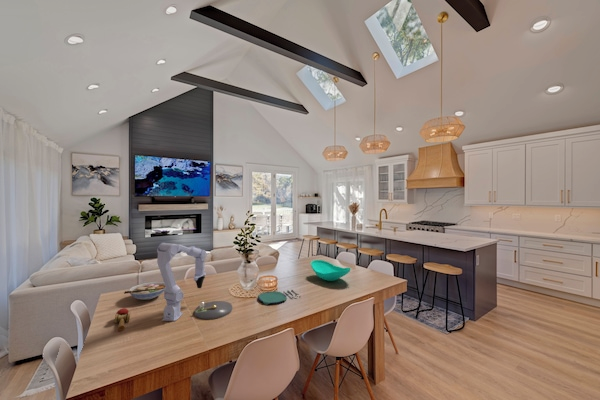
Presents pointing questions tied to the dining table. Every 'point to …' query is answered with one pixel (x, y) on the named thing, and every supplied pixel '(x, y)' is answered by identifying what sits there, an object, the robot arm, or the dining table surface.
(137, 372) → the dining table surface
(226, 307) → the tuner dial
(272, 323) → the dining table surface
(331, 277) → the table top decor
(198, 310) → the brass vanity light
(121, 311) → the kendama
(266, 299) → the cutlery set
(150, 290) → the ramen bowl
